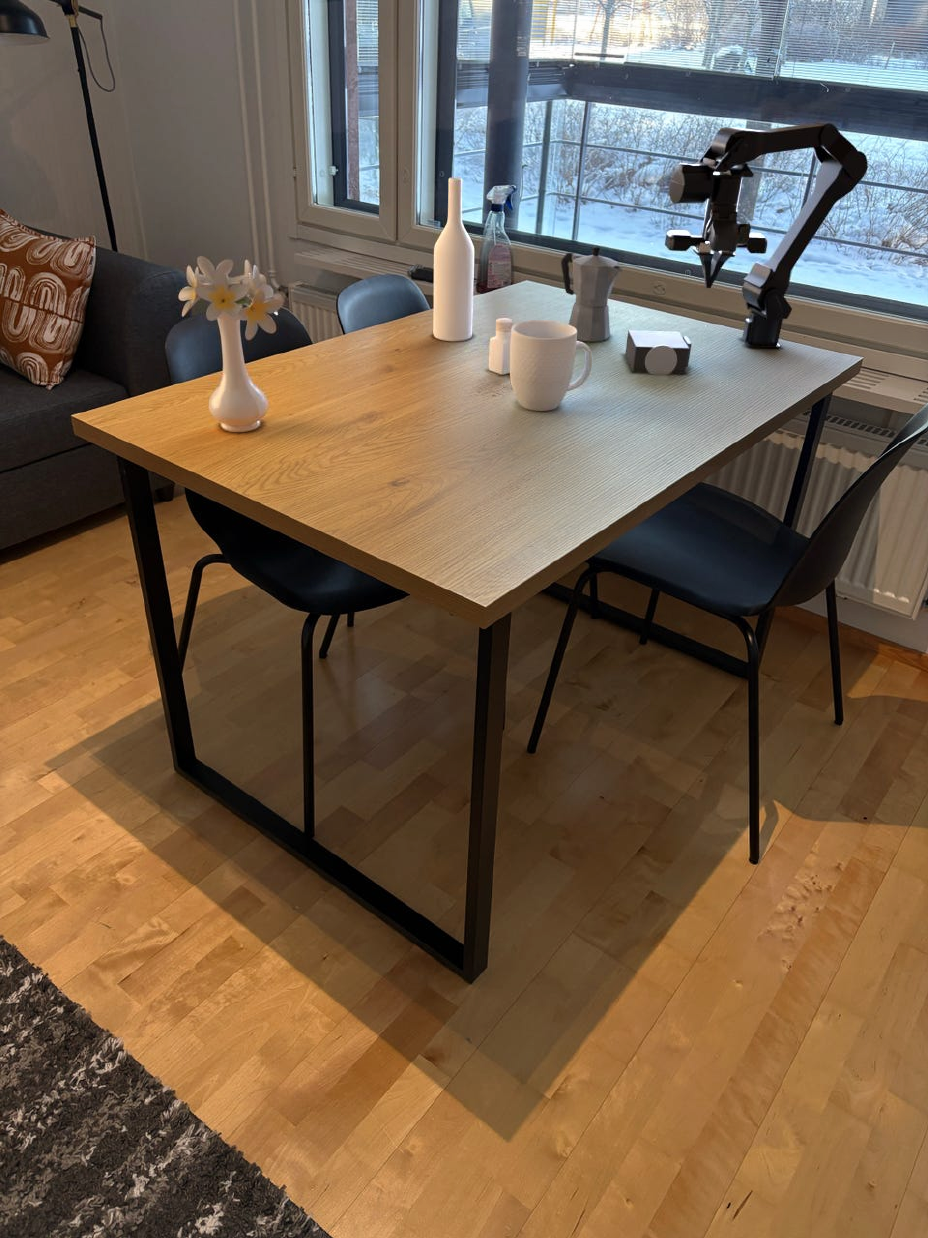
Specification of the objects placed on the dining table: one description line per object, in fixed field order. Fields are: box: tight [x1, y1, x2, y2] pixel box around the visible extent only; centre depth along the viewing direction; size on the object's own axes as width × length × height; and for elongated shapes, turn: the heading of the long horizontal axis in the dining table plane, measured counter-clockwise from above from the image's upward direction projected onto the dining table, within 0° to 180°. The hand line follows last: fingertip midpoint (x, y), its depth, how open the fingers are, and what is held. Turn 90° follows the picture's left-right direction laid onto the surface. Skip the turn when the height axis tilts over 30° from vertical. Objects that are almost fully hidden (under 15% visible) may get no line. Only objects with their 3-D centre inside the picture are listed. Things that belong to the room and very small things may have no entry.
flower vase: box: [178, 255, 284, 433], centre depth 139 cm, size 13×18×25 cm
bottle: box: [432, 177, 475, 342], centre depth 182 cm, size 8×8×30 cm
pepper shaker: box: [488, 317, 514, 376], centre depth 169 cm, size 4×4×10 cm
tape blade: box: [682, 335, 692, 368], centre depth 176 cm, size 10×5×5 cm, turn 89°
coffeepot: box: [560, 245, 623, 343], centre depth 188 cm, size 15×9×18 cm, turn 44°
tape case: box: [624, 329, 689, 376], centre depth 176 cm, size 10×11×6 cm
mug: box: [509, 319, 593, 412], centre depth 154 cm, size 15×11×13 cm
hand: (708, 287), depth 181 cm, fingers closed
